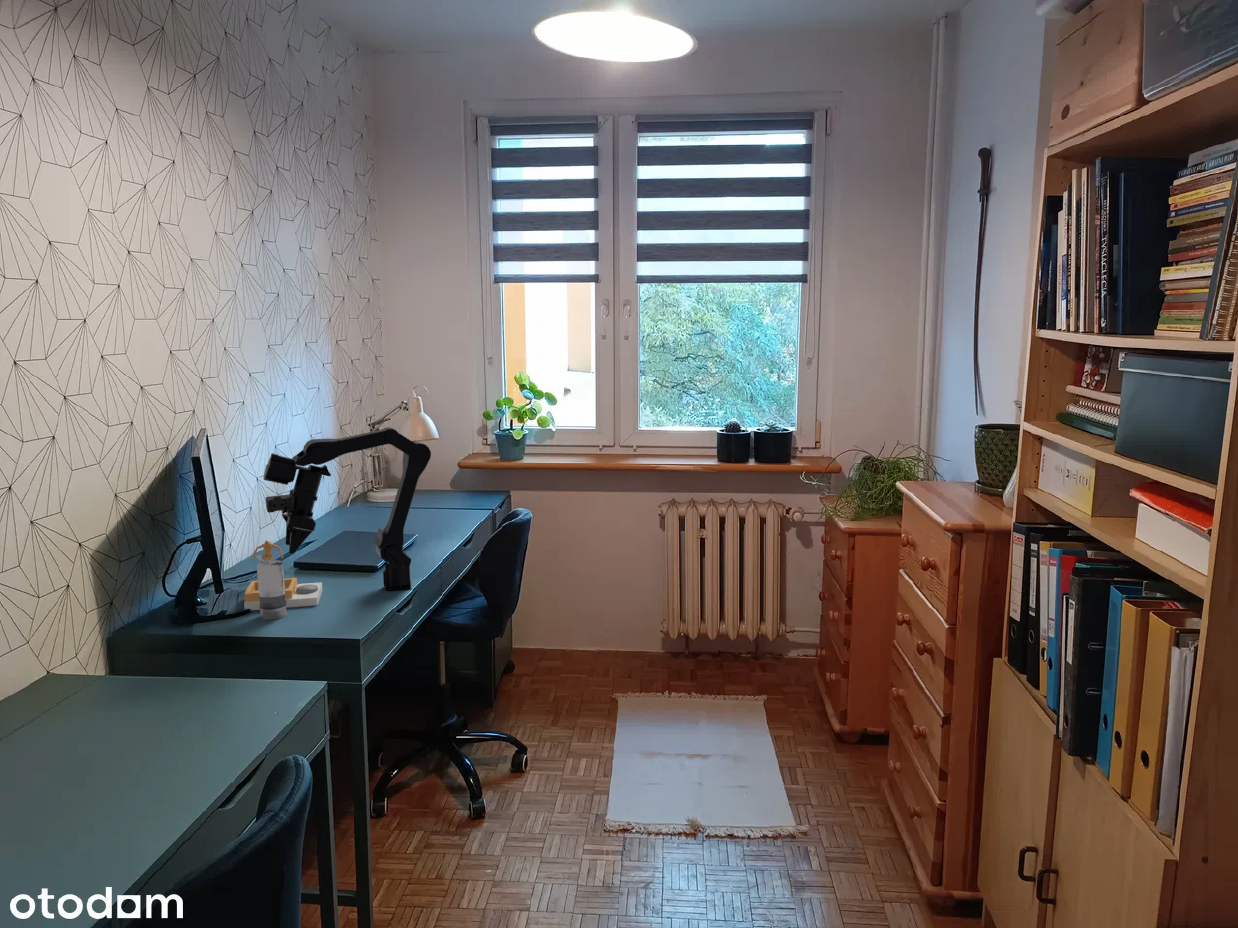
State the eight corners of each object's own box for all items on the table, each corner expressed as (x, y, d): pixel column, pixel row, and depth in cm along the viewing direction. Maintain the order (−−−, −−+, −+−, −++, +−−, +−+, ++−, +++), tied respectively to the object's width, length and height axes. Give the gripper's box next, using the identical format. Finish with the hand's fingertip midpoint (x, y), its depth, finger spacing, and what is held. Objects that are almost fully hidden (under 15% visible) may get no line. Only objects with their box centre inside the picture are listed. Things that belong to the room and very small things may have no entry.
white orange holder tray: (322, 589, 234) (321, 574, 233) (317, 605, 221) (316, 589, 221) (253, 594, 230) (252, 579, 229) (244, 610, 217) (243, 595, 217)
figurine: (249, 588, 235) (245, 544, 233) (256, 581, 241) (253, 538, 239) (281, 587, 236) (278, 543, 234) (288, 580, 242) (284, 537, 240)
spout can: (288, 610, 217) (283, 549, 215) (285, 618, 212) (280, 555, 209) (262, 612, 216) (257, 551, 213) (258, 620, 210) (253, 557, 208)
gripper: (269, 475, 227) (253, 534, 227) (275, 488, 210) (258, 551, 210) (313, 485, 232) (298, 542, 232) (323, 498, 215) (306, 560, 215)
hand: (289, 548), depth 222 cm, fingers open, 9 cm apart
